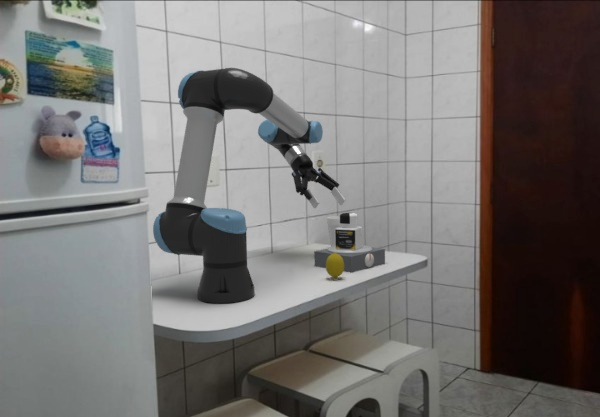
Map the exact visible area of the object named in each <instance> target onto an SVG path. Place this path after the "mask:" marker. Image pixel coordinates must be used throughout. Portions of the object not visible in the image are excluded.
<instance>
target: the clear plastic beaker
mask: <svg viewBox="0 0 600 417" xmlns="http://www.w3.org/2000/svg"><path fill="white" fill-rule="evenodd" d="M326 224H327V227H328V228H327V229H328V234H329V241H330V242H329V243H330V247H331V246H336V236H335V229H336V228H339V227H341V225H340V215H335V216H334V215H333V216H327V217H326Z"/></svg>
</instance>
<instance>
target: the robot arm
mask: <svg viewBox="0 0 600 417" xmlns="http://www.w3.org/2000/svg"><path fill="white" fill-rule="evenodd" d="M177 97H178V99H179V101H178V102H179V105H180V107H181V108H182V109H183V110H182V112H183V115H185V117H186V125H185V130H184V136H183V142H182V148H181V152H180V159H179V165H178V170H177V176H176V182H175V188H174V193H173V196H172V197H173V198H172V199H171V200H170V199H169V201H167V202H166V207H165V210H164V211H162V212H160V213H159V214H158V216H156V217H155V218H154V221H153V222H154V223H153V224H152V225H153V226H152V227H153V228H152V232H153V238H154V241H155V243H156V244H157V246H158V247H159V249H160V250H162V251H163V252H164V253H167V254H174V255H177V256H181V255H186V256H187V255H188V256H200V257H201V256H202V261H203V262H202V264H203V268H202V273H201V276H200V281H199V283H198V287H197V298H198V300H199V301H202V302H205V303H211V304H213V303H214V304H229V303H236V302H243V301H246V300H250V299H251V298H253V297H255V295H256V294H255V293H256V292H255V290H256V289H255V285H254V282H253V279H252V276H251V274H250V270H249V267H248V252H247V251H248V248H247V244H248V243H247V231H248V227H247V223H246V216H245V214H244V213H243V212H241V211H239V210H236V209H232V208H224V207H207V205H206V204H205V199H206V192H207V188H208V181H209V176H210V171H211V170H210V168H211V164H212V159H213V151H214V147H215V146H214V145H215V138H216V133H217V127H218V124H220V123H222V122H223V120H224V116H225V111H229V110H230V111H232V110H247V111H248V112H251V113H253V114H255V115H257V114H259V115H260V116H262V117H263V118H265V120H263V121H262V122H261V123H260V125H259V126H258V129H257V134H258V136H259V138H260V139H261V140H263V142H265V143H267V144H269V146H271V147H273V148H274V149H276V150H278V152H280V154H281V155H282V157H283V158H284V159H285V161H286V162H287V163H288V165H289V166H290V168H291V169H292V172H291V176H292V177H293V182H294V186H295V187H294V188H295V192H296V193H297V194H299V195H300V196H304V197H305V199H306V200H308V202H309V203H310V205H311V206H312V207H313V209H316V208H317V207H318V205H319V204H320V201H319V200H318V199H317V197H316V196H315V194H314V192H312V190H311V189H310V188H308V184H309V182H315V183H316V184H317V183H318V184H320V185H321V186H323V187H325V188H326V189H328V190H329V191H330V193H331V194H332V196H333V197H334V199H335V200H336V201H337V203H338V204H339V206H342V205H343V204H344V203H345V202H346V198H345V197H344V196H343V194H342V193H341V192H340V190H339V189H338V188H339V186H340V183H339V182H337V181H336V180H335V179H334V178H333V177H331V176H330V175H328V174H327V173H326V172H325V171H324V170H323V169H322V168H321V167H319V168H318V169H315V167H314V162H313V161H312V159H311V158H310V157H309V156H308V153H307V152H306V151H305V149H304V148H303V147H302V146H301V145H300V144H303V145H305V144H306V145H308V144H310V145H311V144H317V143H320V142H321V141H322V138H323V133H324V132H323V130H324V129H323V126H322V123H321V122H320V121H317V120H310V121H309V120H307V119H306V118H305V117H303V115H301V114H300V113H299V112H298V111H296V110H295V109H294V108H293V107H291V106H290V105H289V104H288V103H286V102H285V101H284V100H283V99H281V97H279V96H278V95H277V94H276V93H274V90H273V88H272V86H271V85H270V84H269V83H267V82H266V81H265V80H264V79H262V78H260V77H259V76H257V75H255V74H253V73H251V72H249V71H247V70H245V69H242V68H237V67H225V68H218V69H217V68H216V69H210V70H196V71H194V72H193V71H192V72H189V73H188V74H185V75H184V77H182V79H181V80H180V82H179V85H178V89H177Z"/></svg>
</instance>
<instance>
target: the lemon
mask: <svg viewBox="0 0 600 417" xmlns="http://www.w3.org/2000/svg"><path fill="white" fill-rule="evenodd" d="M325 270H326V272H327V274H328V275H329V276H330V277H332V279H334V280H336V279H338V277H340V276H341V275H342V274H343V273H344V272H345V271H344V261H343V258H342V257H341V256H340V255H339V254H337V253H333V254H331V255H330V256H329V257H328V258H327V261H326V268H325Z"/></svg>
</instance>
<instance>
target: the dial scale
mask: <svg viewBox="0 0 600 417" xmlns="http://www.w3.org/2000/svg"><path fill="white" fill-rule="evenodd" d="M333 253H337V254H339V255H340V256H341V257H342V258H343V261H344V271H343V272H347V273H348V272H349V273H354V272H359V271H361V270H365V269H369V267H370V268H372V267H376V266H380V265H385V264H386V249H385V248H380V247H373V246H369V245H365V244H364V245H363V244H362V247H361V248H359V249H357V250H339V249H336V246H331V245H330V246H329V247H327V248H323V249H318V250H314V252H313V255H314V267H320V268H325V269H326V261H327V258H328V257H329V256H330V255H331V254H333ZM384 263H385V264H384Z"/></svg>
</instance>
